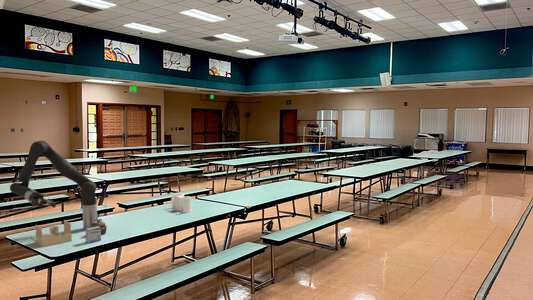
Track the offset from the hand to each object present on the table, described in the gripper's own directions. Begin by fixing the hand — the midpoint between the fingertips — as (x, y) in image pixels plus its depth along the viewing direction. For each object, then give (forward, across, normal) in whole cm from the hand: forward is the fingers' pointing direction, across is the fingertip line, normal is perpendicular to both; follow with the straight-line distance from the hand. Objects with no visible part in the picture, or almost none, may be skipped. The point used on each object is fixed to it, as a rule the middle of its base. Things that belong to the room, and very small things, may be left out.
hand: (49, 206), depth 258 cm
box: (+18, -4, +16) cm, 25 cm away
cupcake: (+29, +20, +9) cm, 36 cm away
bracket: (+33, +101, -6) cm, 107 cm away
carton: (+12, -1, +18) cm, 21 cm away
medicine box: (+38, +7, +8) cm, 40 cm away
